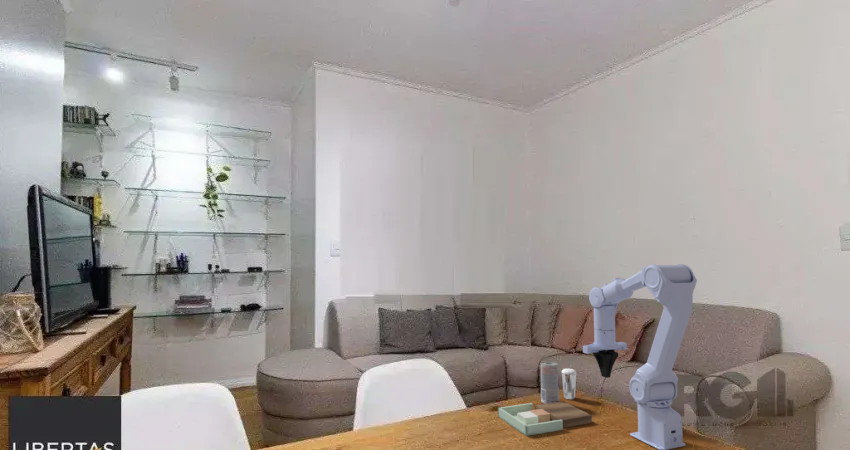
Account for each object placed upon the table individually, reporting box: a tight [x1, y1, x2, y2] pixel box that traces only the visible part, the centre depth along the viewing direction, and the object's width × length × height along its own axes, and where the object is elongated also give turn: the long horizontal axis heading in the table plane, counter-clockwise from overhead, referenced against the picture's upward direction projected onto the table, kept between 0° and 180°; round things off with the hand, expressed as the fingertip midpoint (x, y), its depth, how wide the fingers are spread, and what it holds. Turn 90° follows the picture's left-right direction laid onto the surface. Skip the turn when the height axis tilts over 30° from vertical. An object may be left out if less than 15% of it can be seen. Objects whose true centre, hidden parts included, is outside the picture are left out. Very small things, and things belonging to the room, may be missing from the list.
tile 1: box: [517, 411, 538, 425], centre depth 118 cm, size 4×4×2 cm
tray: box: [497, 402, 564, 437], centre depth 119 cm, size 14×11×2 cm
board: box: [534, 400, 593, 429], centre depth 123 cm, size 12×10×2 cm
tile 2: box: [529, 409, 550, 423], centre depth 120 cm, size 4×4×2 cm
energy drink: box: [540, 360, 560, 404], centre depth 135 cm, size 5×5×12 cm
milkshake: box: [561, 363, 577, 401], centre depth 140 cm, size 4×5×10 cm
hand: (605, 376), depth 126 cm, fingers closed
